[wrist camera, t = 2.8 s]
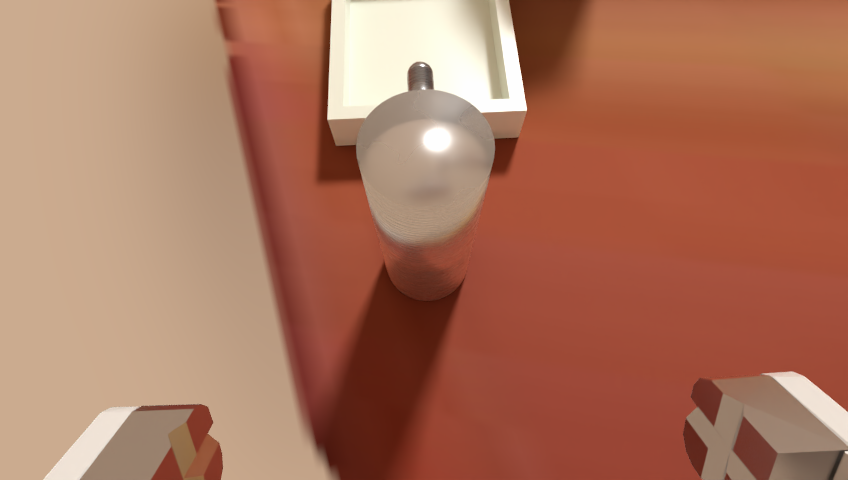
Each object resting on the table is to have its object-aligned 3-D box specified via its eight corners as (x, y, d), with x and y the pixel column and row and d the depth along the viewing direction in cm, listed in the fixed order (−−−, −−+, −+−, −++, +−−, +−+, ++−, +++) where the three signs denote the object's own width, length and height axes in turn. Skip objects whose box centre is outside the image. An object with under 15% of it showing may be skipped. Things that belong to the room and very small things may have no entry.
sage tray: (494, -22, 39) (499, -57, 36) (518, 137, 33) (527, 110, 30) (340, -15, 39) (333, -50, 36) (336, 145, 33) (327, 119, 30)
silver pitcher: (460, 180, 31) (480, 28, 19) (471, 298, 28) (502, 203, 16) (384, 184, 31) (357, 33, 19) (386, 303, 28) (355, 210, 16)
